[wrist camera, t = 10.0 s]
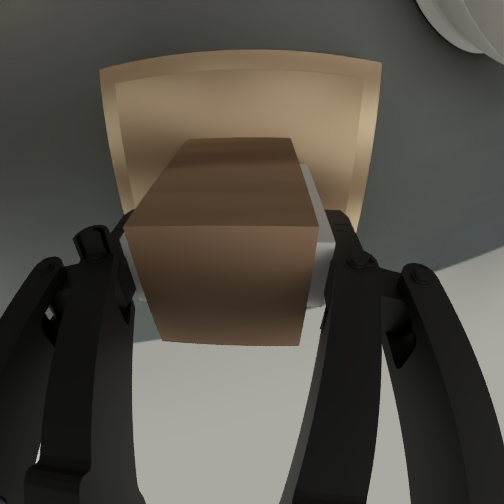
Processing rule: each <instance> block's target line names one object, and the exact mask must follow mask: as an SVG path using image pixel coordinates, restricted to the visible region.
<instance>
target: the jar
mask: <svg viewBox="0 0 504 504" xmlns="http://www.w3.org/2000/svg"><path fill="white" fill-rule="evenodd" d="M416 2H417V4H418V6H419V7H420V9H421V11H422V12H423V14H424V15H425V17H426V18H427V20H428V21H429V22H430V24H431V25H432V26H433V27H434V28H435V29H436V31H437V32H438V33H439V34H441V35H442V36H443V37H444V38H445V39H446V40H447V41H449V42H450V43H452V44H453V45H455V46H456V47H458V48H460V49H462V50H465V51H467V52H471V53H484V54H486V55H487V56H489V57H491V58H492V59H494V60H496V61H498V62H499V63H501V64H503V65H504V0H416Z"/></svg>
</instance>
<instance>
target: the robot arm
mask: <svg viewBox="0 0 504 504" xmlns="http://www.w3.org/2000/svg"><path fill="white" fill-rule="evenodd" d="M300 167H301V170H302V173H303V176H304V179H305V182H306V185H307V188H308V191H309V195H310V198H311V201H312V204H313V207H314V211H315V214H316V217H317V221H318V224H319V233H318V240H317V246H316V253H315V259H314V266H313V272H312V278H311V284H310V290H309V295H308V301H307V306H306V307H322V303H323V299H324V297H325V302H326V308H325V312H324V316H323V320H322V323H321V327H320V329H321V334H320V340H319V346H318V351H317V357H316V362H315V367H314V372H313V377H312V382H311V387H310V391H309V396H308V400H307V405H306V409H305V414H304V418H303V422H302V426H301V431H300V434H299V438H298V442H297V446H296V449H295V453H294V457H293V460H292V464H291V468H290V471H289V474H288V478H287V481H286V484H285V488H284V491H283V494H282V497H281V500H280V503H279V504H366V501H367V494H368V489H369V484H370V478H371V473H372V466H373V460H374V452H375V445H376V437H377V427H378V416H379V404H380V388H381V361H382V360H381V359H382V358H381V357H382V346H383V350H384V354H385V357H386V361H387V365H388V370H389V373H390V378H391V382H392V386H393V391H394V395H395V400H396V405H397V410H398V415H399V420H400V425H401V431H402V437H403V443H404V449H405V456H406V462H407V471H408V478H409V488H410V498H411V504H504V444H503V440H502V435H501V432H500V427H499V424H498V420H497V416H496V413H495V410H494V407H493V403H492V400H491V397H490V394H489V392H488V388H487V385H486V382H485V380H484V377H483V374H482V371H481V369H480V367H479V364H478V361H477V359H476V356H475V354H474V351H473V349H472V347H471V344H470V342H469V340H468V337H467V335H466V333H465V331H464V328H463V326H462V324H461V322H460V320H459V318H458V316H457V314H456V312H455V310H454V308H453V306H452V304H451V302H450V300H449V298H448V296H447V294H446V292H445V290H444V288H443V287H442V285H441V283H440V281H439V279H438V277H437V276H436V275H435V273H434V272H433V271H432V270H430V269H429V268H428V267H426V266H424V265H421V264H417V263H410V264H407V265H405V266H404V267H403V269H402V272H401V273H398V272H394V271H390V270H386V269H383V268H380V267H379V266H378V263H377V260H376V259H375V258H374V257H373V256H372V255H371V254H369V253H367V252H366V251H363V248H362V246H361V244H360V242H359V239H358V237H357V235H356V233H355V232H354V231H355V230H354V228H353V226H352V224H351V222H350V219H349V217H348V216H347V215H346V214H344V213H343V212H342V211H341V210H326V209H324V208H323V205H322V202H321V199H320V197H319V194H318V191H317V189H316V186H315V183H314V181H313V178H312V176H311V173H310V171H309V168H308V165H307V164H300ZM134 210H135V209H132V210H131V211H129V212H128V213H127V214H125V215H124V216H123V217H122V219H121V220H120V221H119V224H117V225H116V227H115V228H114V230H113V231H112V233H111V234H110V233H109V229H108V228H107V227H106V226H103V225H94V226H90V227H87V228H85V229H83V230H81V231H80V232H79V233H77V234H76V235H75V237H74V238H73V241H74V244H75V246H76V249H77V251H78V254H79V256H80V259H81V260H80V262H79V264H75V265H70V266H66V267H64V265H63V262H62V260H61V259H60V258H59V257H48V258H47V259H43V260H42V261H41V262H40V263H38V264H37V265H36V266H35V267H34V269H33V270H32V272H31V273H30V274H29V276H28V277H27V279H26V280H25V281H24V283H23V284H22V286H21V287H20V289H19V290H18V292H17V293H16V295H15V296H14V298H13V299H12V301H11V303H10V304H9V306H8V307H7V309H6V310H5V312H4V314H3V315H2V317H1V319H0V504H146V503H145V500H144V497H143V496H142V494H141V493H140V491H139V488H138V485H137V478H136V468H135V456H134V443H133V422H132V351H133V350H132V349H133V331H134V316H135V306H134V302H133V300H132V297H133V295H134V293H135V290H136V292H137V295H138V297H139V300H140V301H147V300H146V297H145V294H144V292H143V289H142V286H141V283H140V280H139V277H138V274H137V271H136V268H135V265H134V262H133V259H132V256H131V252H130V249H129V246H128V242H127V239H126V236H125V232H124V229H123V226H124V224H125V223H126V221H127V220H128V219H129V217H130V216H131V214H132V213H133V211H134ZM48 307H49V308H50V310H51V312H52V313H53V317H52V318H51V319H50V320H49V319H48V317H47V316H46V314H45V312H46V310H47V309H48ZM40 443H41V447H40ZM39 447H40V459H39V461H38V462H37V463H36V464H35V462H36V458H37V454H38V450H39Z"/></svg>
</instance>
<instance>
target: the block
mask: <svg viewBox="0 0 504 504" xmlns="http://www.w3.org/2000/svg"><path fill="white" fill-rule="evenodd" d="M123 229H124V232H125V236H126V239H127V242H128V246H129V249H130V252H131V256H132V259H133V262H134V265H135V268H136V271H137V274H138V277H139V280H140V283H141V286H142V289H143V292H144V294H145V297H146V300H147V303H148V305H149V308H150V311H151V313H152V316H153V319H154V321H155V324H156V326H157V329H158V331H159V334H160V336H161V339H162V341H170V342H182V343H197V344H215V345H243V346H244V345H245V346H299V342H300V337H301V332H302V327H303V322H304V317H305V312H306V306H307V301H308V295H309V290H310V284H311V278H312V272H313V266H314V259H315V253H316V246H317V240H318V233H319V224H318V221H317V217H316V214H315V211H314V207H313V204H312V201H311V198H310V195H309V191H308V188H307V185H306V182H305V179H304V176H303V173H302V170H301V167H300V164H299V161H298V158H297V155H296V152H295V149H294V146H293V143H292V141H291V138H276V137H231V138H203V139H188V140H187V141H186V143H185V144H184V145H183V146H182V147H181V149H180V150H179V151H178V152H177V154H176V155H175V156H174V157H173V159H172V160H171V161H170V162H169V164H168V165H167V166H166V168H165V169H164V170H163V171H162V173H161V174H160V175H159V177H158V178H157V179H156V181H155V182H154V183H153V185H152V186H151V187H150V189H149V190H148V191H147V193H146V194H145V196H144V197H143V198H142V200H141V201H140V203H139V204H138V205H137V207H136V208H135V210H134V211H133V213H132V214H131V216H130V217H129V219H128V220H127V221H126V223H125V224H124V226H123Z"/></svg>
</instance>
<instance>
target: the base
mask: <svg viewBox="0 0 504 504" xmlns="http://www.w3.org/2000/svg"><path fill="white" fill-rule="evenodd" d="M381 67H382V63H379V62H374V61H369V60H364V59H358V58H352V57H346V56H339V55H332V54H323V53H314V52H303V51H288V50H220V51H205V52H193V53H184V54H176V55H168V56H161V57H155V58H149V59H144V60H138V61H133V62H128V63H124V64H119V65H115V66H111V67H107V68H103V69H99V73H100V84H101V93H102V101H103V109H104V116H105V123H106V129H107V136H108V142H109V147H110V153H111V158H112V163H113V168H114V173H115V178H116V183H117V187H118V191H119V196H120V200H121V204H122V208H123V212H124V215H125V214H127V213H128V212H129V211H131V210H132V209H135V208H136V207H137V205H138V204H139V203H140V201H141V200H142V198H143V197H144V196H145V194H146V193H147V191H148V190H149V189H150V187H151V186H152V185H153V183H154V182H155V181H156V179H157V178H158V177H159V175H160V174H161V173H162V171H163V170H164V169H165V168H166V166H167V165H168V164H169V162H170V161H171V160H172V159H173V157H174V156H175V155H176V154H177V152H178V151H179V150H180V149H181V147H182V146H183V145H184V144H185V143H186V141H187V140H188V139H203V138H231V137H276V138H291V141H292V143H293V146H294V149H295V152H296V155H297V158H298V161H299V164H307V165H308V168H309V171H310V173H311V176H312V178H313V181H314V183H315V186H316V189H317V191H318V194H319V197H320V199H321V202H322V205H323V208H324V209H326V210H341V211H342V212H343V213H344V214H346V215H347V216H348V217H349V219H350V222H351V224H352V226H353V228H354V230H355V231H354V232H355V233H356V231H357V226H358V222H359V217H360V213H361V208H362V203H363V198H364V193H365V188H366V183H367V177H368V171H369V166H370V160H371V153H372V147H373V140H374V133H375V126H376V118H377V110H378V101H379V91H380V80H381Z"/></svg>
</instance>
